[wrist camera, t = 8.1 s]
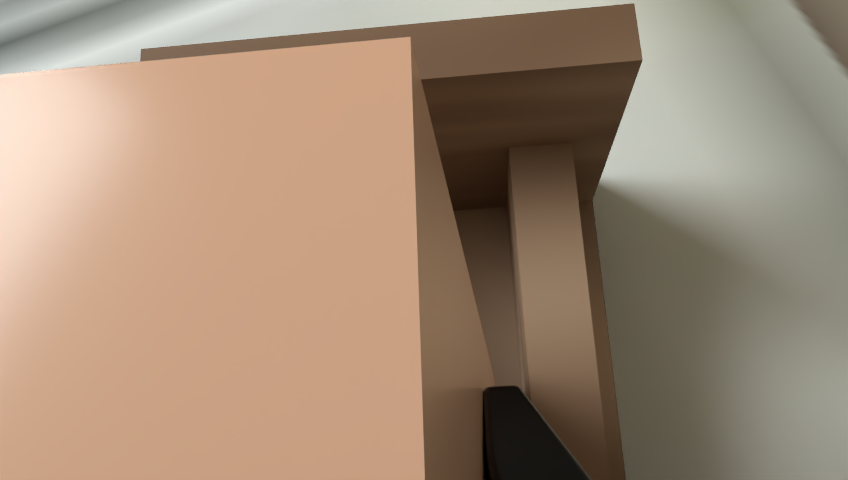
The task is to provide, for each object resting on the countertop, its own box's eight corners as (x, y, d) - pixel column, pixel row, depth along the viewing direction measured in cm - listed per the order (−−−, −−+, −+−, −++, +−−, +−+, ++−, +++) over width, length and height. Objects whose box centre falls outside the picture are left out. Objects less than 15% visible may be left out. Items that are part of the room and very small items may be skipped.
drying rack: (660, 837, 15) (802, 1153, 8) (262, 845, 16) (73, 1148, 9) (583, 176, 20) (633, 3, 12) (267, 200, 20) (141, 48, 13)
